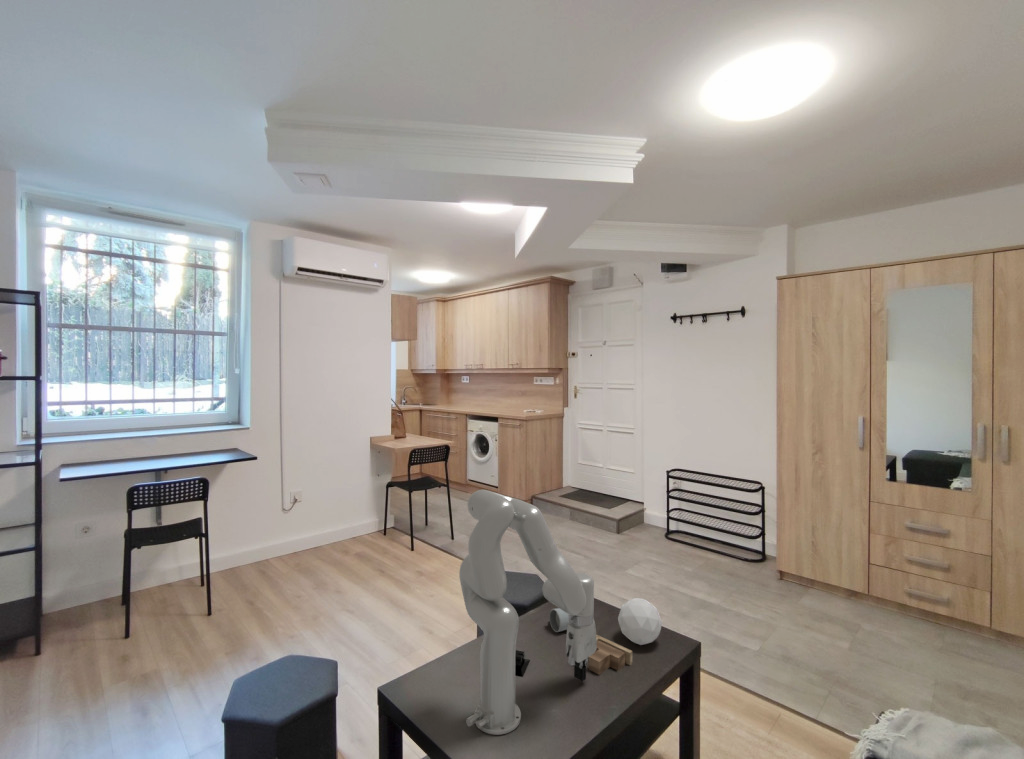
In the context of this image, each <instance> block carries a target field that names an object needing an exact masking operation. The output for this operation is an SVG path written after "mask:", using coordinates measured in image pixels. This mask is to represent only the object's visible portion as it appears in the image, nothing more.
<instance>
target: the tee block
mask: <svg viewBox="0 0 1024 759" xmlns="http://www.w3.org/2000/svg"><path fill="white" fill-rule="evenodd" d="M625 666H626V663H625V653H624V652H622V651H620V650H618V649H616V648H613V647H611V646H609V645H607V644H605V643H603V642H601V641H598V642H597V648H596V651H595V653H593V654H592V655H591V656H589V657H588V670H589V671H591V672H593V673H595V674H597V675H599V676H600V675H601V674H602V673H604V672H605V671H606V670H608V669H609V668H612V669H614V670H615V671H617V672H618V671H619V672H620V671H621V669H623V667H625Z"/></svg>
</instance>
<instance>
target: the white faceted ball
mask: <svg viewBox="0 0 1024 759" xmlns="http://www.w3.org/2000/svg"><path fill="white" fill-rule="evenodd" d="M620 607H621V608H620V610H619V614H618V617H617V620H618V625H619V628H620V631H621V633H622V634H623V635H624V636H625V637H626V638H627V640H628V639H629V640H630V642H632V643H634V644H637V645H639V646H642V645H647V644H651V643H654V642H655V640H656V639H657V638H658V637H659V636H660V634H661V630H662V625H663V622H662V618H661V615H660V613H659V609H658V608H657V607H656V606H655V605H653V603H651V602H650V601H648V599H645V598H641V597H636V598H631V599H628V601H626V602H625V603H624V604H622V605H621V606H620Z"/></svg>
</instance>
